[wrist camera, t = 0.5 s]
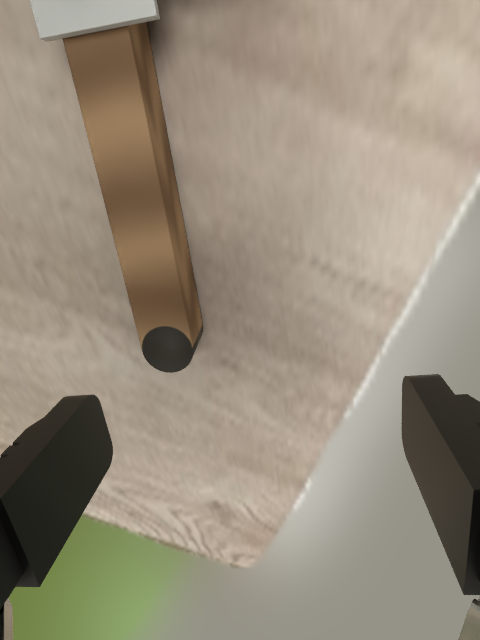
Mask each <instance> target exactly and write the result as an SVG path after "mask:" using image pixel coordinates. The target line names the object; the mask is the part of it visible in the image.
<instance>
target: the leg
mask: <svg viewBox="0 0 480 640" xmlns="http://www.w3.org/2000/svg"><path fill="white" fill-rule="evenodd" d="M63 41H64V45H65V49H66V53H67V57H68V61H69V65H70V69H71V73H72V77H73V81H74V85H75V88H76V92H77V96H78V100H79V104H80V108H81V112H82V116H83V120H84V124H85V128H86V132H87V136H88V139H89V143H90V147H91V151H92V155H93V159H94V163H95V167H96V171H97V175H98V179H99V183H100V187H101V190H102V194H103V198H104V202H105V206H106V210H107V214H108V218H109V222H110V226H111V230H112V234H113V238H114V241H115V245H116V249H117V253H118V257H119V261H120V265H121V269H122V273H123V277H124V281H125V285H126V289H127V292H128V296H129V300H130V304H131V308H132V312H133V316H134V320H135V324H136V328H137V332H138V336H139V340H140V343H141V347H142V351H143V355H144V357H145V359H146V360H147V361H148V363H149V364H150V365H151V366H153V367H154V368H156V369H158V370H160V371H163V372H177V371H180V370H182V369H184V368H185V367H187V366H188V364H189V363H190V361H191V359H192V357H193V355H194V352H195V350H196V347H197V345H198V342H199V340H200V338H201V335H202V332H203V324H202V318H201V313H200V307H199V302H198V297H197V291H196V286H195V281H194V275H193V270H192V264H191V259H190V254H189V248H188V243H187V238H186V232H185V227H184V221H183V216H182V211H181V205H180V200H179V194H178V189H177V184H176V178H175V173H174V168H173V162H172V157H171V151H170V146H169V141H168V135H167V130H166V125H165V119H164V114H163V108H162V103H161V98H160V92H159V87H158V82H157V76H156V71H155V65H154V60H153V55H152V49H151V44H150V39H149V33H148V28H147V22H143V23H138V24H133V25H128V26H123V27H118V28H113V29H108V30H103V31H98V32H92V33H87V34H82V35H77V36H72V37H67V38H63Z"/></svg>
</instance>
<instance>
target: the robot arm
mask: <svg viewBox="0 0 480 640" xmlns="http://www.w3.org/2000/svg"><path fill="white" fill-rule="evenodd" d="M402 441H403V446H404V451H405V455H406V458H407V460H408V463H409V465H410V468H411V470H412V472H413V475H414V477H415V480H416V482H417V484H418V487H419V489H420V491H421V494H422V496H423V499H424V501H425V503H426V506H427V508H428V511H429V513H430V516H431V518H432V520H433V523H434V525H435V527H436V529H437V532H438V535H439V537H440V539H441V542H442V544H443V547H444V549H445V551H446V554H447V556H448V558H449V561H450V563H451V566H452V568H453V570H454V573H455V575H456V577H457V580H458V582H459V585H460V587H461V589H462V592H463V594H464V595H480V402H479V401H477V400H476V399H474V398H473V397H471V396H469V395H468V394H463V395H455V394H454V393H453V392H452V390H451V389H450V388H449V386H448V385H447V384H446V382H445V381H444V380H443V378H442V377H441V376H440V375H438V374H433V375H418V376H405V377H404V379H403V384H402ZM112 455H113V446H112V441H111V438H110V434H109V431H108V427H107V424H106V421H105V417H104V414H103V410H102V407H101V404H100V401H99V399H98V398H97V397H96V396H95V395H80V396H66V397H64V398H62V399H61V400H60V401H59V402H58V403H57V405H56V406H55V407H54V408H53V409H52V410H51V411H50V412H49V413H48V414H47V415H46V416H45V417H44V418H42V419H41V420H39V421H38V422H36V423H35V424H33V425H31V426H30V427H28V428H27V429H26V430H25V431H24V432H23V433H22V434H21V435H20V436H19V437H18V438H17V439H16V440H15V441H14V442H13V445H12V446H9V447H8V448H7V449H6V450H5V451H4V452H3V453H2V454H1V458H0V640H13V611H12V605H11V603H10V601H9V599H8V597H9V596H10V594H11V592H12V591H13V589H14V588H15V587H40V586H41V584H42V582H43V580H44V579H45V577H46V575H47V574H48V572H49V570H50V568H51V567H52V565H53V563H54V562H55V560H56V558H57V556H58V555H59V553H60V551H61V549H62V548H63V546H64V544H65V543H66V541H67V539H68V537H69V536H70V534H71V532H72V531H73V529H74V527H75V525H76V524H77V522H78V520H79V519H80V517H81V515H82V513H83V512H84V510H85V508H86V507H87V505H88V503H89V501H90V500H91V498H92V496H93V495H94V493H95V491H96V489H97V488H98V486H99V484H100V483H101V481H102V479H103V477H104V476H105V474H106V472H107V471H108V469H109V467H110V464H111V461H112ZM458 640H480V597H479V599H478V600H476V599H474V600H473V601H472V603H471V605H470V607H469V610H468V613H467V615H466V618H465V621H464V625H463V628H462V630H461V634H460V637H459V639H458Z"/></svg>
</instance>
